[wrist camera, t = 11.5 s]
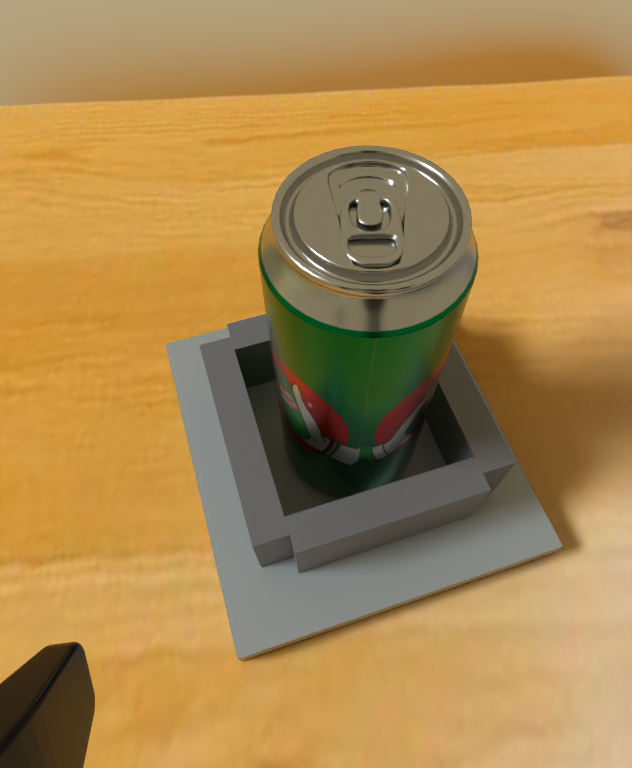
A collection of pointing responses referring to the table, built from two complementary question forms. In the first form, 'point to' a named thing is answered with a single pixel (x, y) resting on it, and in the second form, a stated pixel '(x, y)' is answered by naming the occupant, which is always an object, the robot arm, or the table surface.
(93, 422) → the table surface
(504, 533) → the socket
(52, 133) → the table surface
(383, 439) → the soda can
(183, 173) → the table surface
